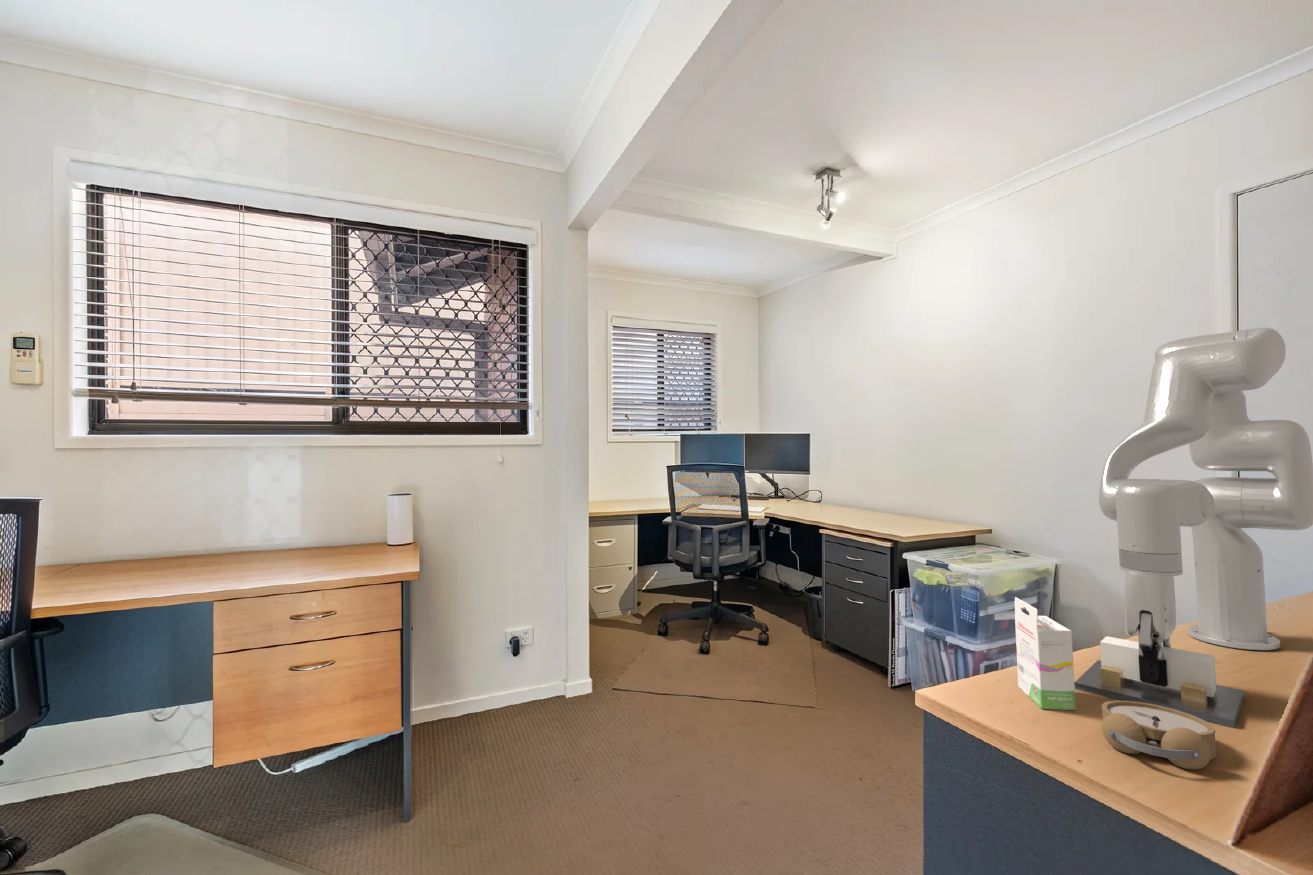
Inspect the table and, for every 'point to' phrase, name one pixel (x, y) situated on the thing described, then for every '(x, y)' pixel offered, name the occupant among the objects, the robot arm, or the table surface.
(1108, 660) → the white rectangular block
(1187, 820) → the table surface
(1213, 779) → the table surface
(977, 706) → the table surface
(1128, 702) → the alarm clock
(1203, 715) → the cradle jig
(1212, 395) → the robot arm
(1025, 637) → the ink box
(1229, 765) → the table surface
